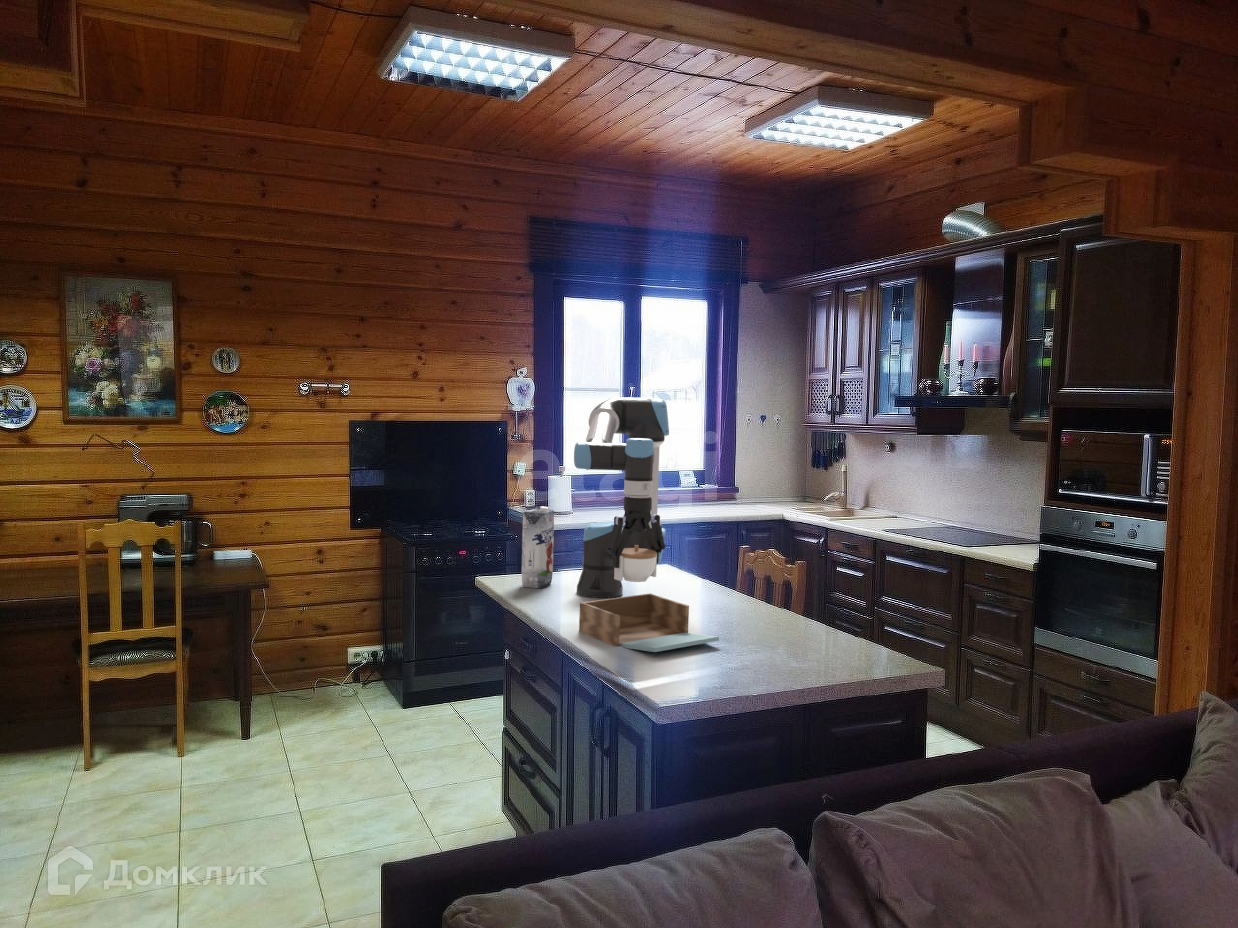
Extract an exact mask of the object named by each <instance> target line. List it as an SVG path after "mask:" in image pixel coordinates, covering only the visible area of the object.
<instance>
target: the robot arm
mask: <svg viewBox="0 0 1238 928" xmlns="http://www.w3.org/2000/svg"><path fill="white" fill-rule="evenodd" d="M669 426H670V425H669V414H668V407H667V402H666V401H665V400H664V399H662V398H654V397H623V396H618V397H617V396H616V397H613V398H609V399H607V400H605V401H602V402H601V403H599V404H598V405H596V406H595V407H594V409H592V411H591V413H590V415H589V418H588V427H589V429H588V432H587V435H586V438H585V441H578V442H576V443H575V445H574V451H573V463H574V467H575V468H576V469H578V470H579V469H580V470H587V471H588V470H589V471H590V470H591V471H593V470H594V471H595V470H598V471H599V470H600V471H624V483H623V484H624V485H623V487H624V488H623V494H624V495H625V496H624V497H623V511H624V514H623V516H615V517H614V518H613V521H604V522H603V521H602V522H595V523H591V524H588V525H587V526H586V527H585V528H584V530H583V538H582V541H583V547H582V548H583V549H582V550H583V551H582V571H581V574H580V577H579V578H578V581H577V582H578V583H577V585H576V594H577V595H579V596H583V597H588V598H599V599H600V598H601V599H602V598H604V599H605V598H606V599H610V598H618V597H621V596H622V595H623V592H624V588H623V584H622V582H623V581H624V578H623V556H620V555H621V553H622V551H623V549H624V548H635V545H639V547H638V548H644V549H650V550H654V551H656V563H655V568H654V571H653V573H652V575H651V576H650V577H653V578H657V566H658V564H659V563H660V562H661V561H662V557H663V551H664V550H665V549H666V544H665V538H666V528H664V527H662V521H661V516H660V514H658V504H659V503H658V502H659V475H660V474H659V472H660V447H661V446H662V444H663V443H664V442H665V440H666V439H665V437H667V436H669V435H670V427H669ZM615 434H617V435H619V434H620V435H621V434H623V435H628V438H627V439H626V441H625V443H618V442H617V443H614V442H613V439H614V435H615Z"/></svg>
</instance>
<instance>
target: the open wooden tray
mask: <svg viewBox="0 0 1238 928" xmlns="http://www.w3.org/2000/svg"><path fill="white" fill-rule="evenodd" d="M689 615H690V605H688V604H685V603H682V602H679V601H676V600H672V599H669V598H665V597H662V596H659V595H656V594H653V593H643V594H636V595H628V596H618V597H611V598H606V599H605V598H604V599H598V600H597V599H596V600H590V601H589V600H588V601H583V602H582V601H581V602H579V621H578V622H579V625H578V631H579V632H580V633H582V634H584V635H587V636H590V637H591V638H594V639H597V640H600V641H601V642H604V643H606V644H608V645H610V646H611V645H612V646H614V647H620V645H619V644H620V643H625V642H631V641H637V640H643V639H649V638H655V637H661V636H667V635H673V634H679V633H689V621H690V620H689V619H690V617H689Z"/></svg>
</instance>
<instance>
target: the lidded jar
mask: <svg viewBox="0 0 1238 928" xmlns="http://www.w3.org/2000/svg"><path fill="white" fill-rule="evenodd" d="M638 547H639V545H635V548H624V549H623V551H622V553H621V555H620V556H623V581H627V582H633V583H643V582H647V580H648V579H649V578H650V577H652V576H651V575H652V573H653V571H654V568H655V563H656V551H654V550H650V549H644V548H638Z"/></svg>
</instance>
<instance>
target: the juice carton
mask: <svg viewBox="0 0 1238 928" xmlns="http://www.w3.org/2000/svg"><path fill="white" fill-rule="evenodd" d="M554 513H555V510H554V509H549V507H548V506H539V508H532V509H530V510H524V511H523V512H522V535H521V536H522V538H521V584H522V587H524V588H533V589H544V588H545V587H547V586H549V585H550V584H551V583H552V581H553V580H552V579H553V573H554V572H553V571H554V568H553V567H554V542H555V541H554V540H555V539H554V536H555V534H554V533H555V516H554V515H555V514H554Z"/></svg>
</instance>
